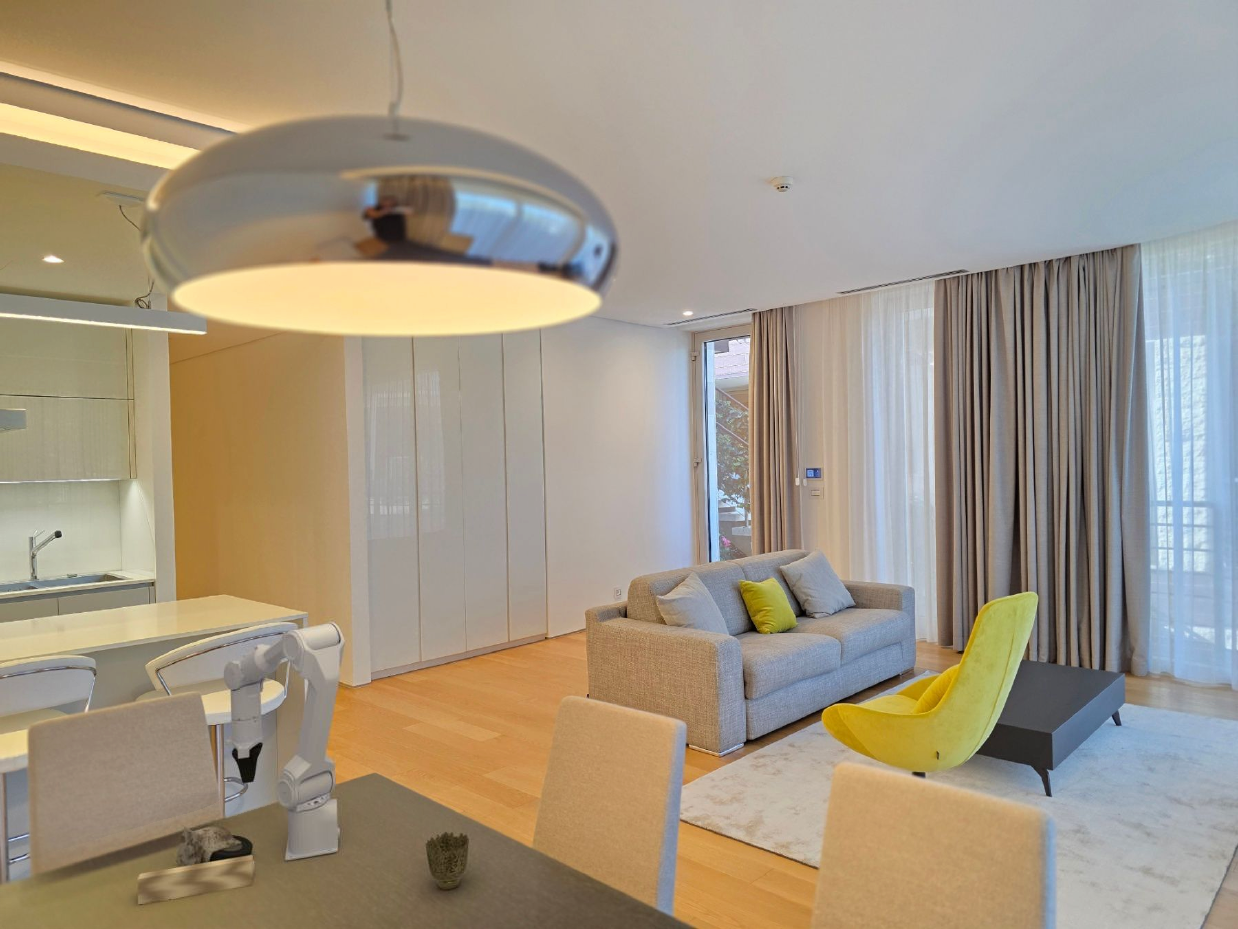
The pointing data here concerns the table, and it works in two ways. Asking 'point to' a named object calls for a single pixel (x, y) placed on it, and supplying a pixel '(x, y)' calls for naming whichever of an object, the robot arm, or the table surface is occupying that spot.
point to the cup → (447, 858)
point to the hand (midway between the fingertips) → (248, 781)
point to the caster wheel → (211, 846)
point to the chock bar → (195, 879)
